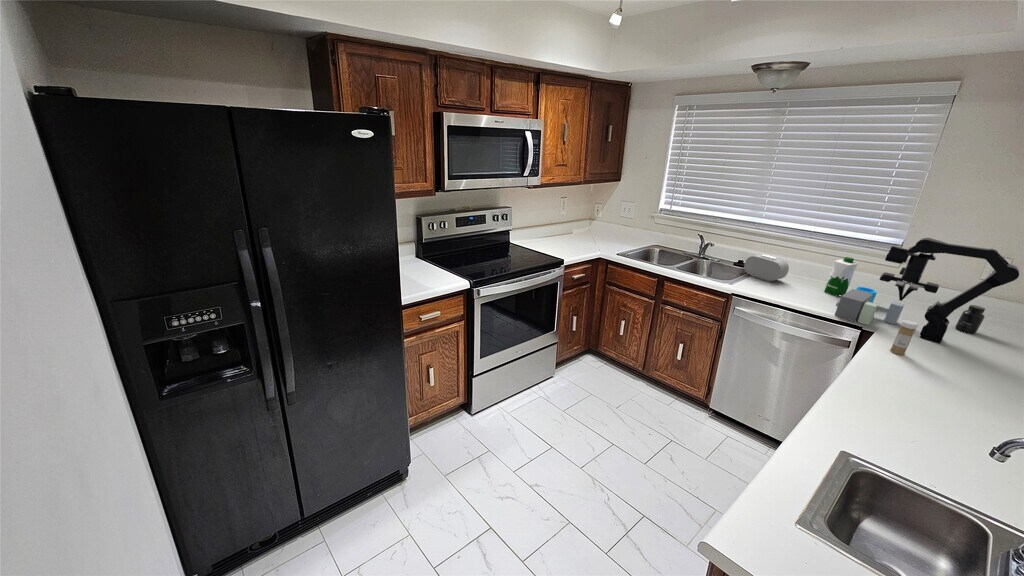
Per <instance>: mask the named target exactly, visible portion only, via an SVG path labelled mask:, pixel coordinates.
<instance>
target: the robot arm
mask: <svg viewBox="0 0 1024 576" xmlns="http://www.w3.org/2000/svg"><path fill="white" fill-rule="evenodd" d="M917 253H919V254H917ZM934 254H948V255H955V256H956V255H957V256H961V257H962V256H963V257H967V258H976V259H983V260H986V261H987V262H988V264H989V265H990V266H991V267H992V269H993V271H992V272H991V273H989V275H987V277H986V278H984V279H982V280H981V281H979V282H978V283H976V284H975V285H973V286H971V287H969V288H968V289H966V290H965V291H963V292H961V293H960V294H958V295H956V296H954V297H952V298H951V299H949V300H948V301H945V302H940V301H939V300H938V301H936V302H934V304H932V305H929V306H928V307H927V308H926V311H925V313H924V319H925V320H926V321H927V323H926V324H924V325H923V326H922V329H921V331H920V333H919V335H920V336H919V338H921V339H924V340H927V341H930V342H934V343H937V344H941V343H942V341H943V339H944V337H945V334H946V332H947V330H948V326H949V325H950V320H949V319H948V317H949V316H950V315H951V314H952V313H953V312H954V311H956V310H957V309H959V308H961V307H963V306H965V305H966V304H968V303H969V302H971V301H973V300H974V299H977V298H978V297H980V296H982V295H983V294H985V293H988V292H989V291H990V290H993V289H994V288H997V287H1001V286H1004V285H1007V284H1009V283H1011V282H1015V281H1016V280H1017V279H1018V278H1020V270H1019V268H1018V266H1016V265H1014V264H1010V263H1009V262H1008V261H1007V260H1006V259H1005V258H1004V257H1003V256H1002V255H1001V254H1000V253H999V251H998V250H997V249H994V248H986V247H985V248H984V247H977V246H969V245H961V244H954V243H948V242H945V241H942V240H938V239H934V238H930V237H924V238H920V239H919V240H917V242H916V243H915V245H913V246H910V247H909V248H903V247H898V246H895V245H893V246H891V247H890V249H889V251H888V253H886V256H885V259H884V261H886V262H891V263H894V264H899V265H902V264H904V263H907V264H906V266H905V267H904V266H903V267H901V269H900V271H899V274H898V275H901V277H898V276H895V275H896V274H893V273H889V272H882V274H881V275H880V277H879V281H882V282H887V283H889V282H892V281H893V282H895V285H894V286H896V287H897V288H898V289H897V290H898V301H901V302H902V301H903V300H904V299H905V298H906V297H907V296H908V295H910V294H911V293H912V292H913V291H915V292H918V290H919V288H923V289H924V291H925V292H928V293H932V294H937V292H938V290H939V289H940V284H938V283H934V282H931V281H928V282H927V283H924V282H920V281H921V278H922V276H923V273H924V271H925V269H926V266H927V265H928V262H929V260H931V261H935V260H936V259H937V258H936V256H935V255H934ZM909 256H910V258H909ZM907 261H908V262H907ZM906 285H909V286H908V288H907V289H906V290H905V288H906Z"/></svg>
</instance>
